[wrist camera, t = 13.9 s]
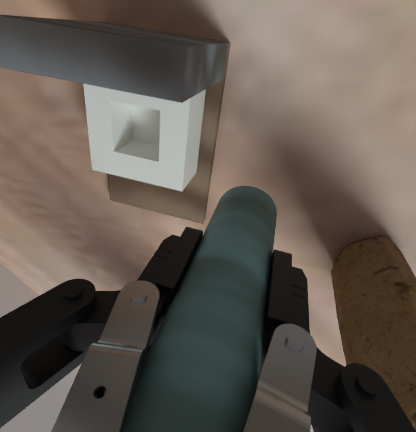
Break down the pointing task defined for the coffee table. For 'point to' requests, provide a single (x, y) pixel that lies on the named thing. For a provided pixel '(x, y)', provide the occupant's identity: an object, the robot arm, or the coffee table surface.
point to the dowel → (212, 326)
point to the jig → (129, 85)
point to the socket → (144, 136)
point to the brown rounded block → (379, 314)
